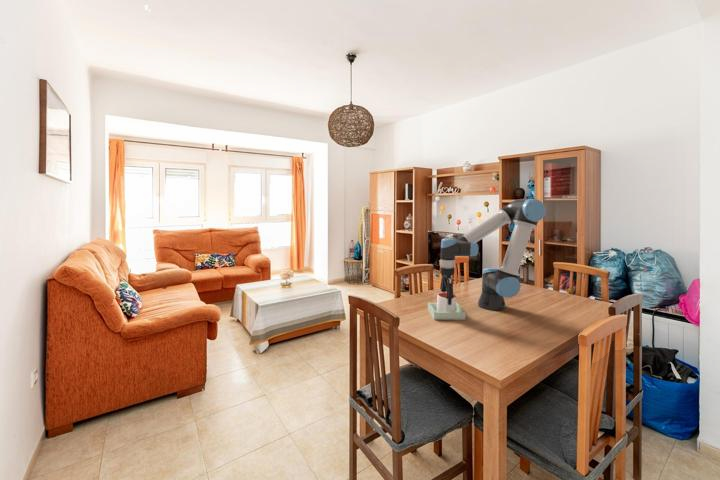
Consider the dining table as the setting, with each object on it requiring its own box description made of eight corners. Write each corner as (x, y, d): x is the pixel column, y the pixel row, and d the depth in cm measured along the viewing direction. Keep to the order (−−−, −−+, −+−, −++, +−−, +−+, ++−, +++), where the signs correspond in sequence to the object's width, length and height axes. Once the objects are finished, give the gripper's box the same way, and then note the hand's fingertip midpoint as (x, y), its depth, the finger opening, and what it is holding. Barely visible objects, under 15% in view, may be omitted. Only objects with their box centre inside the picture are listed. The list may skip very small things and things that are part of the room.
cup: (456, 317, 173) (457, 299, 171) (436, 315, 175) (437, 297, 173) (454, 311, 182) (455, 293, 181) (436, 309, 184) (437, 292, 183)
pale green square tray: (456, 309, 187) (456, 302, 186) (465, 320, 171) (465, 311, 170) (427, 309, 187) (427, 302, 186) (433, 319, 171) (434, 311, 170)
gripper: (435, 263, 187) (434, 300, 190) (446, 271, 164) (444, 313, 167) (448, 263, 187) (447, 300, 190) (461, 271, 164) (459, 313, 167)
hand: (445, 306), depth 178 cm, fingers open, 11 cm apart
